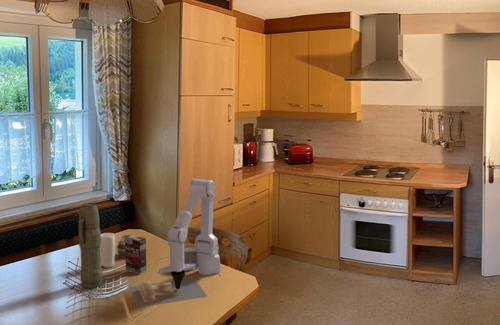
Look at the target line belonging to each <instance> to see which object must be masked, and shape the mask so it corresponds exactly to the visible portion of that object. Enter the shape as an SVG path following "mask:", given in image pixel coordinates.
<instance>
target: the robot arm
mask: <svg viewBox="0 0 500 325" xmlns="http://www.w3.org/2000/svg"><path fill="white" fill-rule="evenodd" d="M188 190H189V192H188V193H189V194H188V197H187V200H186V202H185V205H184V207H183V210H181V211H179V212H178V214H177V216H176V219H175V221H174V223H173V225H172V227H170V228H169V229H168V230H167V232H166V235H165V236H166V237H165V238H166V240H167V242H168V246H169V265H167V266H163V267H159V268H158V273H159V275H163V274H168V273H170V275H171V277H172V278H173V281H174V282H175V287H176V289H180V285H181V281H182V280H184V278H185V275H186V272H185V271H187V270H190V271H196V270H195V264H184V245H185V242H186V240H187V237H188V232H189V231H188V230H189V229H188V228H189V226H190V223H191V221H192V219H193V215H192V213H193V211H194V209H195V208H196V206H197V204H198V202H199V200H200V199H201V206H200V207H201V211H200V234H198V235H197V236H196V237H195V242H194V250H195V252H196V253H197V255H198V274H199V275H202V276H210V275H214V274H217V275H218V276H221V259H220V258H221V257H220V254H218V252H219V249H220V247H219V244H218V243H219V241H218V240H219V238H218V237H217V236H215V235H214V234H213V223H214V222H213V219H214V198H216V183H215V182H214V181H213V180H212V179H211V180H208V179H199V178H195V177H194V178H192V179H191V180H190V181H189V185H188Z"/></svg>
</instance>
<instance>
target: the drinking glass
mask: <svg viewBox="0 0 500 325" xmlns="http://www.w3.org/2000/svg"><path fill="white" fill-rule="evenodd" d="M115 253H116V235H115V233H113V232H104V233H101V246H100V255H101V261H102V262H101V265H102V267H103V268H112V267H114V266H115Z"/></svg>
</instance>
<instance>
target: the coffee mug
mask: <svg viewBox="0 0 500 325" xmlns="http://www.w3.org/2000/svg"><path fill="white" fill-rule="evenodd" d="M194 244H195V243H194ZM194 244H193V243H191V244H184V264H195V270H194V271H196V270H197V269H198V255H197V253H196V252H195V250H194ZM186 271H189V272H190V271H191V270H186Z"/></svg>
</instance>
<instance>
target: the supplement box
mask: <svg viewBox="0 0 500 325" xmlns="http://www.w3.org/2000/svg"><path fill="white" fill-rule="evenodd" d="M130 235H131V236H128V235H127V236H128V237H126V238H125V257H126V259H125V271H126V272H129V273H134V274H137V275H142V274H143V273H145V272H147V239H146V237H141V236H136V235H133V234H130Z"/></svg>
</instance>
